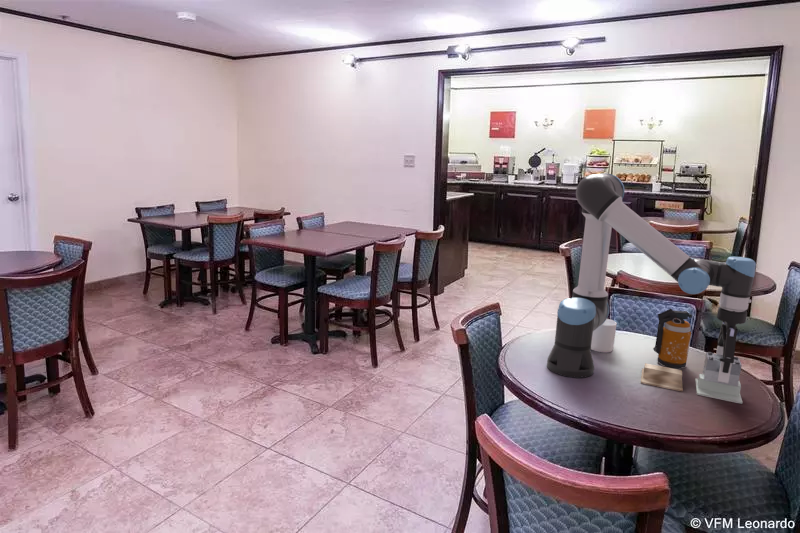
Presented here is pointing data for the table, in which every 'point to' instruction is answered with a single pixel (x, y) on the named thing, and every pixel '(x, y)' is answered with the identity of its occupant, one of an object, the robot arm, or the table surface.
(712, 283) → the robot arm
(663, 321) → the canister
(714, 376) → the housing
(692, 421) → the table surface
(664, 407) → the table surface
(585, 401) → the table surface
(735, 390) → the stand
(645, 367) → the stand
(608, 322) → the mug
